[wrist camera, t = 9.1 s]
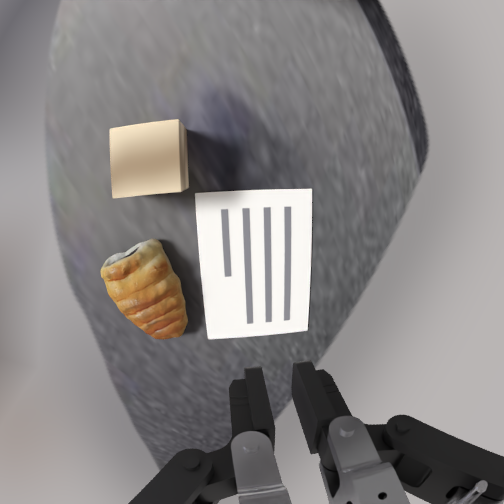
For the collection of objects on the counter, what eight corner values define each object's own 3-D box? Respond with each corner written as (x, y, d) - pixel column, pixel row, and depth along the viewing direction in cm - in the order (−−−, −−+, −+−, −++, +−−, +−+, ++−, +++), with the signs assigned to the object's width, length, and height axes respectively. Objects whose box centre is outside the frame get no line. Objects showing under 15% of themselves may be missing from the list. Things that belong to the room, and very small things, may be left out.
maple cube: (130, 136, 22) (109, 128, 17) (186, 129, 22) (178, 119, 17) (132, 192, 23) (112, 198, 18) (189, 187, 24) (181, 191, 19)
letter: (195, 193, 24) (194, 193, 23) (311, 188, 25) (312, 189, 24) (208, 338, 28) (208, 339, 27) (307, 330, 28) (307, 330, 28)
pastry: (206, 316, 27) (204, 338, 23) (149, 340, 27) (141, 362, 24) (158, 230, 24) (147, 240, 21) (99, 261, 25) (83, 276, 21)
